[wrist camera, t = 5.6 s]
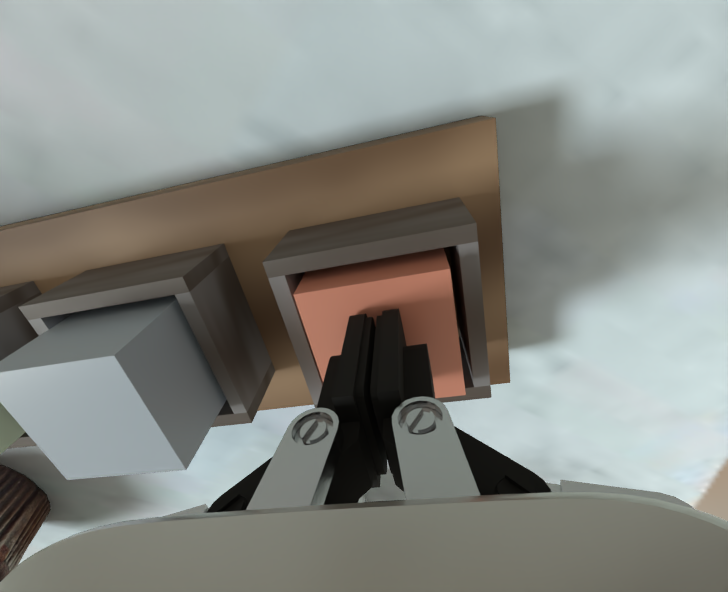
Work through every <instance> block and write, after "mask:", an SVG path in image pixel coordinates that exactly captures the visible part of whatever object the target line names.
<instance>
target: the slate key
mask: <svg viewBox="0 0 728 592" xmlns="http://www.w3.org/2000/svg"><path fill="white" fill-rule="evenodd" d="M226 400H227V399H226V397H225V395H224V393H223V391H222V389H221V387H220V385H219V383H218V381H217V379H216V377H215V375H214V373H213V371H212V369H211V367H210V365H209V363H208V361H207V359H206V357H205V355H204V353H203V351H202V349H201V347H200V345H199V343H198V341H197V339H196V337H195V335H194V333H193V331H192V329H191V327H190V325H189V323H188V321H187V319H186V317H185V315H184V313H183V311H182V309H181V307H180V305H179V303H178V301H177V299H176V297H175V295H172V296H167V297H161V298H155V299H149V300H144V301H138V302H132V303H127V304H121V305H115V306H109V307H104V308H98V309H92V310H87V311H81V312H75V313H74V314H72V315H71V316H69V317H67V318H66V319H64V320H63V321H61V322H60V323H58V324H57V325H55V326H54V327H52V328H51V329H49V330H47V331H46V332H44V333H43V334H41V335H40V336H38V337H37V338H35V339H34V340H32V341H30V342H29V343H27V344H26V345H24V346H23V347H21V348H20V349H18V350H17V351H15V352H14V353H12V354H10V355H9V356H7V357H6V358H4V359H3V360H1V361H0V402H1V404H2V405H3V406H4V407H5V408H6V409H7V411H8V412H9V413H10V414H11V415H12V416H13V418H14V419H15V420H16V421H17V422H18V423H19V425H20V426H21V427H22V428H23V429H24V430H25V432H26V433H27V434H28V435H29V436H30V437H31V439H32V440H33V441H34V442H35V443H36V444H37V446H38V447H39V448H40V449H41V450H42V451H43V453H44V454H45V455H46V456H47V457H48V459H49V460H50V461H51V462H52V463H53V464H54V466H55V467H56V468H57V469H58V470H59V471H60V473H61V474H62V475H63V476H64V477H65V478H66V480H73V479H85V478H97V477H108V476H120V475H132V474H144V473H155V472H167V471H179V470H186V469H187V468H188V466H189V464H190V462H191V461H192V459H193V457H194V455H195V454H196V452H197V450H198V448H199V447H200V445H201V443H202V442H203V440H204V438H205V436H206V435H207V433H208V431H209V429H210V428H211V426H212V424H213V422H214V421H215V419H216V417H217V415H218V414H219V412H220V410H221V409H222V407H223V405H224V403H225V402H226Z"/></svg>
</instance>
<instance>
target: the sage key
mask: <svg viewBox="0 0 728 592" xmlns="http://www.w3.org/2000/svg"><path fill="white" fill-rule="evenodd" d="M24 433H25V430H24V429H23V428H22V427H21V426H20V425H19V423H18V422H17V421H16V420H15V419H14V418H13V416H12V415H11V414H10V413H9V412H8V411H7V409H6V408H5V407H4V406H3V405H2V404H1V402H0V454H1V453H3V452H4V451H5V450H6V449H7V448H8V447H9V446H10V445H12V444H13V443H14V442H15V441H16V440H17V439H18V438H20V437H21V436H22V435H23V434H24Z"/></svg>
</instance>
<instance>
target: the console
mask: <svg viewBox="0 0 728 592" xmlns="http://www.w3.org/2000/svg"><path fill="white" fill-rule="evenodd" d="M438 248H444V251H445V254H446V257H447V261H448V264H449V267H450V272H451V280H452V288H453V296H454V304H455V312H456V320H457V328H458V336H459V344H460V352H461V360H462V368H463V376H464V384H465V392H466V395H462V396H452V397H443V398H435V399H436V400H439V401H440V402H441V403H443V402H453V401H462V400H472V399H481V398H490V397H491V387H490V385H493V384H502V383H510V370H509V352H508V334H507V316H506V298H505V280H504V262H503V243H502V225H501V207H500V189H499V171H498V153H497V135H496V118H493V117H486V116H478V117H474V118H469V119H465V120H461V121H456V122H452V123H448V124H443V125H439V126H435V127H430V128H426V129H422V130H417V131H413V132H409V133H404V134H400V135H396V136H391V137H387V138H383V139H378V140H374V141H370V142H365V143H361V144H357V145H352V146H348V147H343V148H339V149H335V150H330V151H326V152H322V153H317V154H313V155H309V156H304V157H300V158H296V159H291V160H287V161H283V162H278V163H274V164H270V165H265V166H261V167H257V168H252V169H248V170H244V171H239V172H235V173H231V174H226V175H222V176H218V177H213V178H209V179H205V180H200V181H196V182H192V183H187V184H183V185H179V186H174V187H170V188H166V189H161V190H157V191H153V192H148V193H144V194H140V195H135V196H131V197H126V198H122V199H118V200H113V201H109V202H105V203H100V204H96V205H92V206H87V207H83V208H79V209H74V210H70V211H66V212H61V213H57V214H53V215H48V216H44V217H40V218H35V219H31V220H27V221H22V222H18V223H14V224H9V225H5V226H1V227H0V361H1V360H3V359H4V358H6V357H7V356H9V355H10V354H12V353H14V352H15V351H17V350H18V349H20V348H21V347H23V346H24V345H26V344H27V343H29V342H30V341H32V340H34V339H35V338H37V337H38V336H40V335H41V334H43V333H44V332H46V331H47V330H49V329H51V328H52V327H54V326H55V325H57V324H58V323H60V322H61V321H63V320H64V319H66V318H67V317H69V316H71V315H72V314H74V313H75V312H81V311H87V310H92V309H98V308H104V307H109V306H115V305H121V304H127V303H132V302H138V301H144V300H149V299H155V298H161V297H167V296H172V295H175V297H176V299H177V301H178V303H179V305H180V307H181V309H182V311H183V313H184V315H185V317H186V319H187V321H188V323H189V325H190V327H191V329H192V331H193V333H194V335H195V337H196V339H197V341H198V343H199V345H200V347H201V349H202V351H203V353H204V355H205V357H206V359H207V361H208V363H209V365H210V367H211V369H212V371H213V373H214V375H215V377H216V379H217V381H218V383H219V385H220V387H221V389H222V391H223V393H224V395H225V397H226V399H227V400H226V402H225V403H224V405H223V407H222V409H221V410H220V412H219V414H218V415H217V417H216V419H215V421H214V422H213V424H212V426H211V427H216V426H226V425H235V424H245V423H252V421H253V419H254V417H255V415H256V413H257V411H259V410H268V409H277V408H286V407H295V406H304V405H313V404H314V405H315V408H317V404H318V400H319V397H320V393H321V389H322V385H323V381H322V378H321V375H320V372H319V369H318V366H317V363H316V360H315V357H314V354H313V351H312V348H311V345H310V342H309V339H308V337H307V334H306V331H305V328H304V325H303V322H302V319H301V316H300V313H299V310H298V307H297V304H296V301H295V298H294V295H293V294H294V292H295V291H296V289H297V287H298V285H299V283H300V281H301V280H302V278H303V276H304V274H305V272H307V271H312V270H318V269H324V268H330V267H335V266H341V265H347V264H352V263H358V262H364V261H370V260H375V259H381V258H387V257H392V256H398V255H404V254H410V253H415V252H421V251H427V250H432V249H438ZM36 445H37V444H36V443H35V442H34V441H33V440H32V439H31V437H30V436H29V435H28V434H27V433H26V432H25V433H24V434H23V435H22V436H21V437H20V438H18V439H17V440H16V441H15V442H14V443H13V444H12V445H10V446H9V447H8V448H17V447H27V446H36ZM8 448H7V449H8Z"/></svg>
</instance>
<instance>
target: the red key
mask: <svg viewBox="0 0 728 592" xmlns="http://www.w3.org/2000/svg"><path fill="white" fill-rule="evenodd" d="M293 295H294V298H295V301H296V304H297V307H298V310H299V313H300V316H301V319H302V322H303V325H304V328H305V331H306V334H307V337H308V339H309V342H310V345H311V348H312V351H313V354H314V357H315V360H316V363H317V366H318V369H319V372H320V375H321V378H322V381H324V378H325V374H326V370H327V366H328V362H329V359H330V357H331V356H336V355H341V352H342V347H343V343H344V338H345V334H346V329H347V325H348V320H349V316H352V315H359V314H365V313H366V315H367V317H373V319H374V323H375V327H376V319H377V316H380V315H382V311H385V310H392V309H398V308H399V311H400V316H401V321H402V326H403V330H404V335H405V340H406V345H407V346H411V345H418V344H426V343H427V347H428V353H429V359H430V365H431V371H432V377H433V384H434V392H435V398H443V397H452V396H462V395H466V392H465V384H464V376H463V368H462V360H461V352H460V344H459V336H458V328H457V320H456V312H455V304H454V296H453V288H452V280H451V272H450V267H449V264H448V261H447V257H446V254H445V251H444V248H438V249H432V250H427V251H421V252H415V253H410V254H404V255H398V256H392V257H387V258H381V259H375V260H370V261H364V262H358V263H352V264H347V265H341V266H335V267H330V268H324V269H318V270H312V271H307V272H305V274H304V276H303V278H302V280H301V281H300V283H299V285H298V287H297V289H296V291H295V292H294V294H293Z"/></svg>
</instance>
